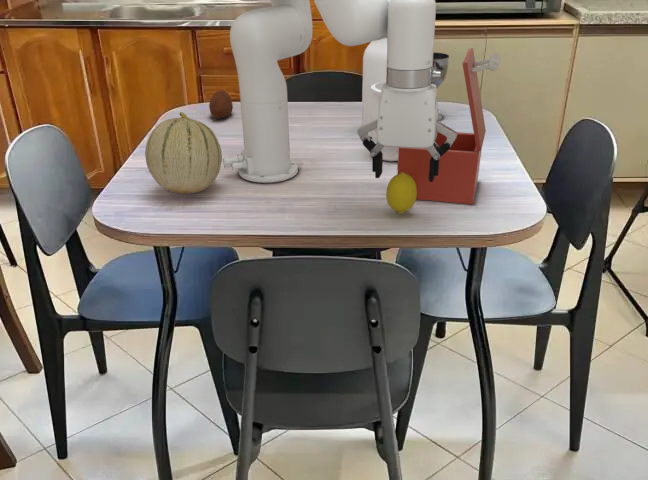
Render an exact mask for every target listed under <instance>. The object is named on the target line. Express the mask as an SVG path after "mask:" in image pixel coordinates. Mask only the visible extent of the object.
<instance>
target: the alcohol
mask: <svg viewBox="0 0 648 480" xmlns="http://www.w3.org/2000/svg"><path fill="white" fill-rule="evenodd" d="M386 75H387V38H385V39H381V40H376V41H372V42H369V44H368V45H367V47H366V48H365V49H364V53H363V56H362V88H361V89H362V90H361V93H362V95H361V96H362V97H361V98H362V99H361V127H362V126H364V125H366V124H368V123H370V108H371V102H372V98H373V93H372V92H371V86H372V85H373V84H376V83H379V82H385V81H386ZM368 135H369V138H372V131H370V132H368Z"/></svg>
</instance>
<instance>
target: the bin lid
mask: <svg viewBox="0 0 648 480" xmlns="http://www.w3.org/2000/svg"><path fill="white" fill-rule="evenodd" d="M500 63H501V55H500V54H499V53H493V54H491V55H490V58H486V59H481V60H477V61H476V57H475V52H474V48H473V47H472V48H468V50H467V52H466V54H465V57H464V58H463V61H462V68H463V75H464V81H465V87H466V93H467V100H468V105H469V113H470V117H471V124H472V131H473V133H474V137H475V143H476V149H477V151H481V152H482V150H481V149H483V145H484V139H485V136H486V131H487V130H486V123H485V117H484V110H483V105H482V103H483V102H482V97H481V90H480V83H479V78H478V72H480V71H485V70H489V71H491V72H495V71H497V70H498V69H499V66H500Z"/></svg>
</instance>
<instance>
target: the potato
mask: <svg viewBox="0 0 648 480" xmlns="http://www.w3.org/2000/svg"><path fill="white" fill-rule="evenodd" d="M233 105H234V104H233V101H232V97H231V96H230V94H229V93H228V92H227V91H225V90H218V91H215V92H214V93H213V95H212V96H211V98H210V99H209V104H208V107H209V108H208V109H209V112H210V114H211V116H212V117H213V118H215V119H224V118H227V117H228V116H229V115H230V114H232V112H233V109H234V106H233Z"/></svg>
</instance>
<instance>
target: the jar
mask: <svg viewBox="0 0 648 480" xmlns="http://www.w3.org/2000/svg"><path fill="white" fill-rule="evenodd" d="M384 84H386V81H385V82H379V83H376V84H373V85H372V86H371V92H372V93H373V98H372V102H371V108H370V122H372V121H374V120H376V119H378V111H379V103H380V96H381V91H382V87H383V85H384ZM371 140H372V141H373V142H374V143H375V144H376V143H377V128H376V129H374V130H372V137H371ZM381 151H382V153H383V161H387V162H398V153H399V147H386V146H384V147H383V148H382V149H381Z"/></svg>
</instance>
